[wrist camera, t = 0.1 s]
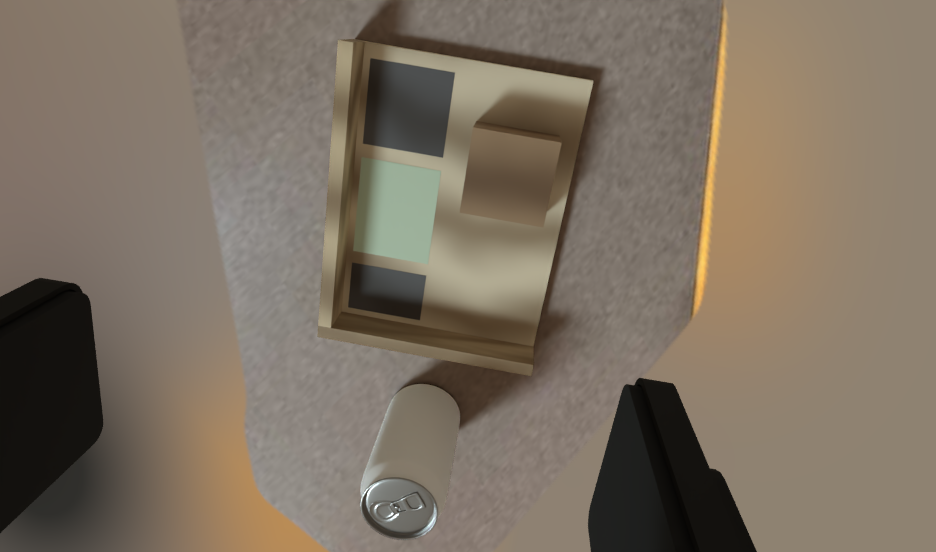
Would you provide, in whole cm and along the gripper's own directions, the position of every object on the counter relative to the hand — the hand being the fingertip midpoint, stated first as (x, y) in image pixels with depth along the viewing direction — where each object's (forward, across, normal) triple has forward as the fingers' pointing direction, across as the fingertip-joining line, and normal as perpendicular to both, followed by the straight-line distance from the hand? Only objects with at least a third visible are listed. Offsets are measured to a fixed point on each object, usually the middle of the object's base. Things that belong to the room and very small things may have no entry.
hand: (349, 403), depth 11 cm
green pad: (+37, +6, +8) cm, 38 cm away
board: (+37, +2, +7) cm, 37 cm away
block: (+36, -2, +3) cm, 36 cm away
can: (+37, +2, +26) cm, 45 cm away
